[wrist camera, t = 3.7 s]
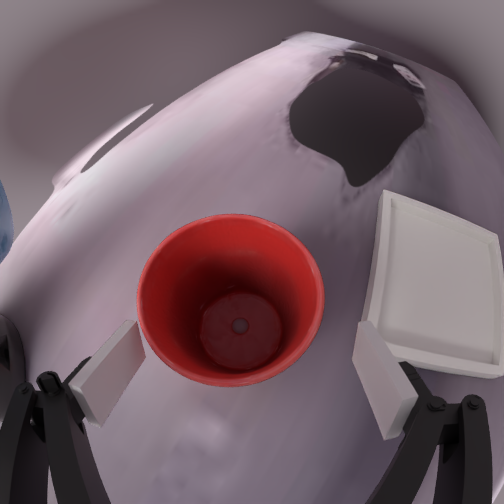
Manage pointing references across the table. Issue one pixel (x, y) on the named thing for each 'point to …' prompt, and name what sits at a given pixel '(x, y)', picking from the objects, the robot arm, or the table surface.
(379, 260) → the drip tray
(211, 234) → the flower pot
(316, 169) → the table surface
